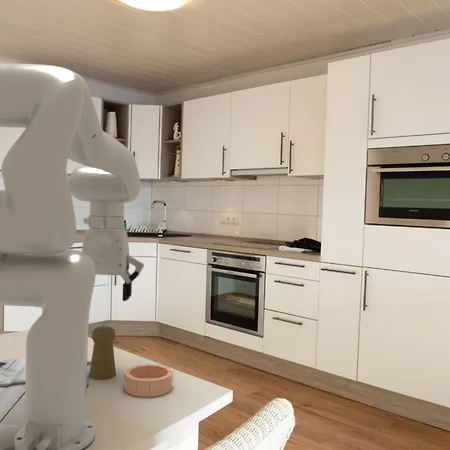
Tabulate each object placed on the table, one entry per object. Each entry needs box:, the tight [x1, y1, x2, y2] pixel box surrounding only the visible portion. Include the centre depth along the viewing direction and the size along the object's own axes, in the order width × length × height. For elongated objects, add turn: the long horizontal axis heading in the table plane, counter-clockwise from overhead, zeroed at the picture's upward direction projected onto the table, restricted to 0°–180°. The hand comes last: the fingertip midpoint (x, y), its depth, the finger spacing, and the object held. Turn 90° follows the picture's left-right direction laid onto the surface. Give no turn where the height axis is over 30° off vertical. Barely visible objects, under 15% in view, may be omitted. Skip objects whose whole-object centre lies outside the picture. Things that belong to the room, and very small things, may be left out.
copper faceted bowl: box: [123, 363, 174, 399], centre depth 102 cm, size 10×10×4 cm
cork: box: [88, 325, 117, 381], centre depth 108 cm, size 6×6×11 cm
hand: (105, 298), depth 108 cm, fingers open, 9 cm apart
